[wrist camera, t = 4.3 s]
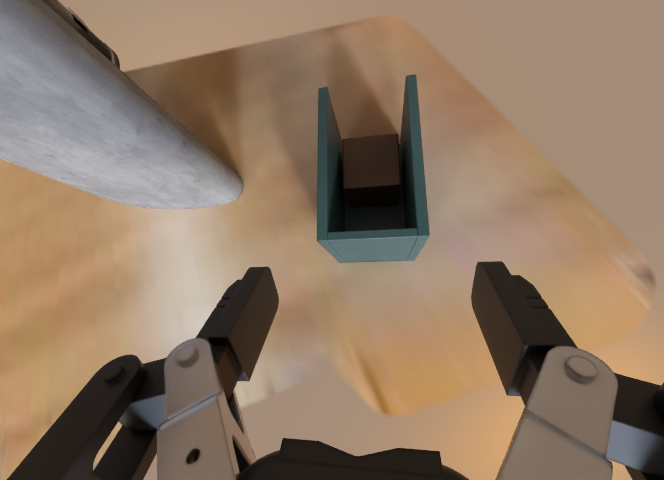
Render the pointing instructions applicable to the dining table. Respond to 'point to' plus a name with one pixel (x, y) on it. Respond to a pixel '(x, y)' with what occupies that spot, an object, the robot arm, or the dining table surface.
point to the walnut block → (371, 170)
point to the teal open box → (376, 221)
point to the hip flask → (95, 121)
